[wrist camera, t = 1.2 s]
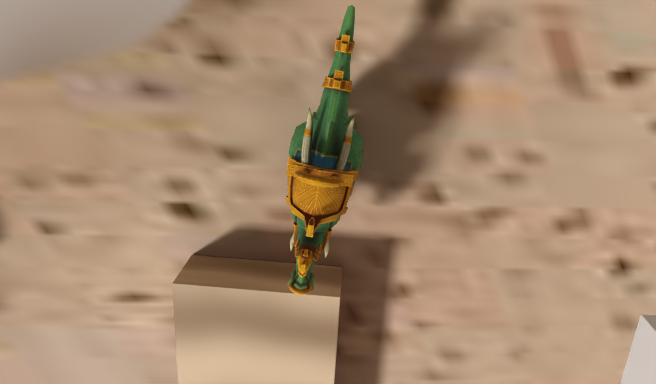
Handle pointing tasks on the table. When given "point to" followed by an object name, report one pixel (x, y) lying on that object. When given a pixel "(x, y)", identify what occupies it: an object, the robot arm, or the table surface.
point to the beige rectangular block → (254, 323)
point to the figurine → (323, 165)
